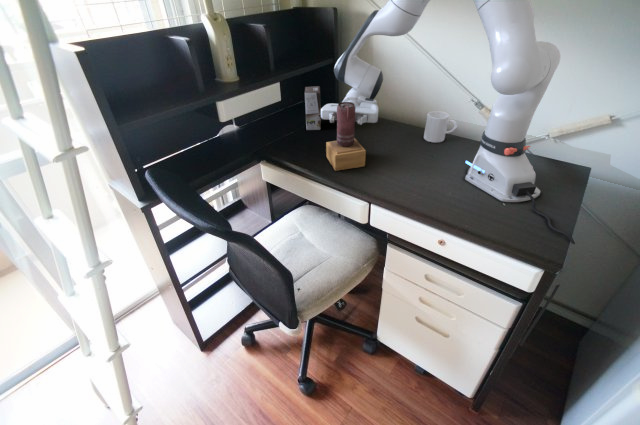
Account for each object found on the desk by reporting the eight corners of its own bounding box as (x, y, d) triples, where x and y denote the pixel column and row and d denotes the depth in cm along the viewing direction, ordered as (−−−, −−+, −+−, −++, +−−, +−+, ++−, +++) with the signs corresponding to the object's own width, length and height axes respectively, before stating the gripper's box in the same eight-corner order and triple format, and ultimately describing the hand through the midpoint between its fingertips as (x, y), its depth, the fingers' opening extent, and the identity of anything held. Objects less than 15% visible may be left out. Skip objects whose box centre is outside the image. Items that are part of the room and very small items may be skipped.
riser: (364, 166, 115) (365, 149, 111) (335, 171, 113) (335, 154, 109) (354, 152, 124) (354, 136, 120) (326, 156, 122) (326, 141, 118)
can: (340, 148, 112) (340, 108, 104) (334, 141, 117) (334, 102, 109) (356, 146, 114) (358, 106, 105) (350, 138, 119) (351, 100, 110)
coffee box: (321, 130, 142) (319, 92, 132) (306, 130, 142) (304, 92, 132) (321, 122, 149) (320, 85, 139) (307, 122, 149) (305, 86, 139)
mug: (450, 146, 125) (455, 122, 119) (420, 139, 131) (424, 115, 125) (456, 139, 130) (462, 115, 124) (428, 132, 136) (432, 109, 130)
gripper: (325, 97, 120) (315, 110, 109) (381, 100, 116) (376, 114, 105) (325, 113, 124) (316, 128, 113) (379, 117, 119) (375, 132, 109)
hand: (345, 121), depth 109 cm, fingers open, 8 cm apart
